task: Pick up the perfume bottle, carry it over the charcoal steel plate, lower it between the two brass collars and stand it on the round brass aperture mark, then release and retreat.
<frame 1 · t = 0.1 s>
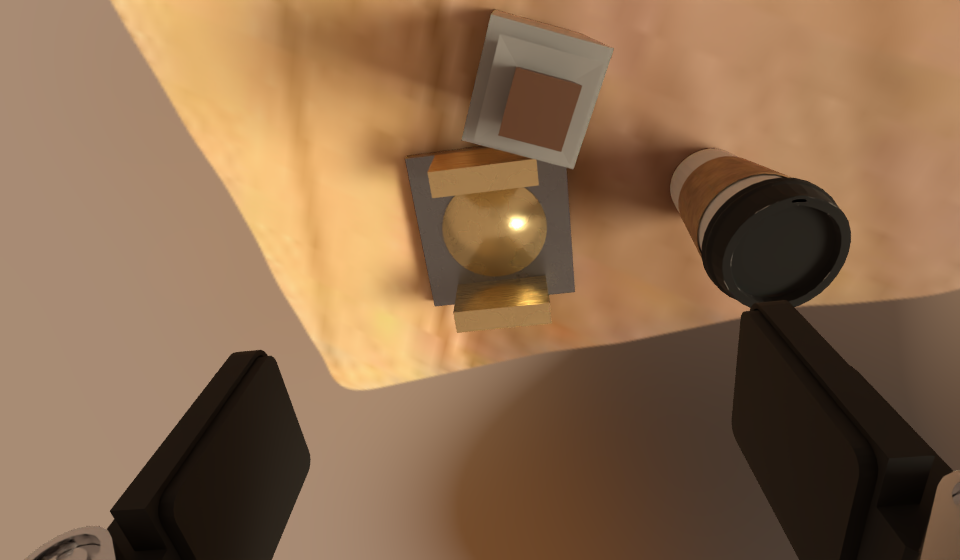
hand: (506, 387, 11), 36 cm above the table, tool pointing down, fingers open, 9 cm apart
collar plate: (494, 224, 48), on the table
coffee cup: (704, 182, 46), on the table
perfume bottle: (525, 68, 43), on the table
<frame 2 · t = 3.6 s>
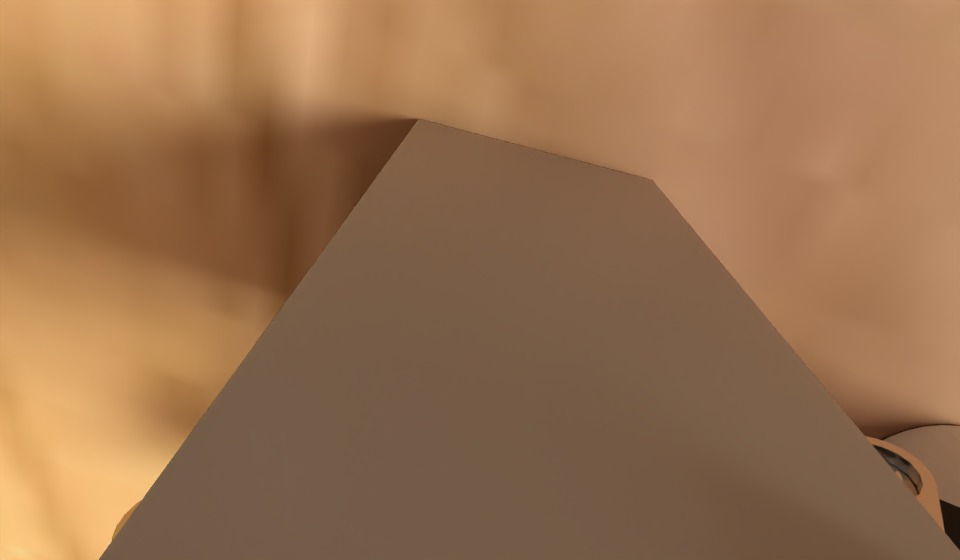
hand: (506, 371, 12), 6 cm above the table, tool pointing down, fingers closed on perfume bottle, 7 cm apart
coffee cup: (913, 481, 20), on the table
perfume bottle: (505, 254, 17), on the table, touching gripper
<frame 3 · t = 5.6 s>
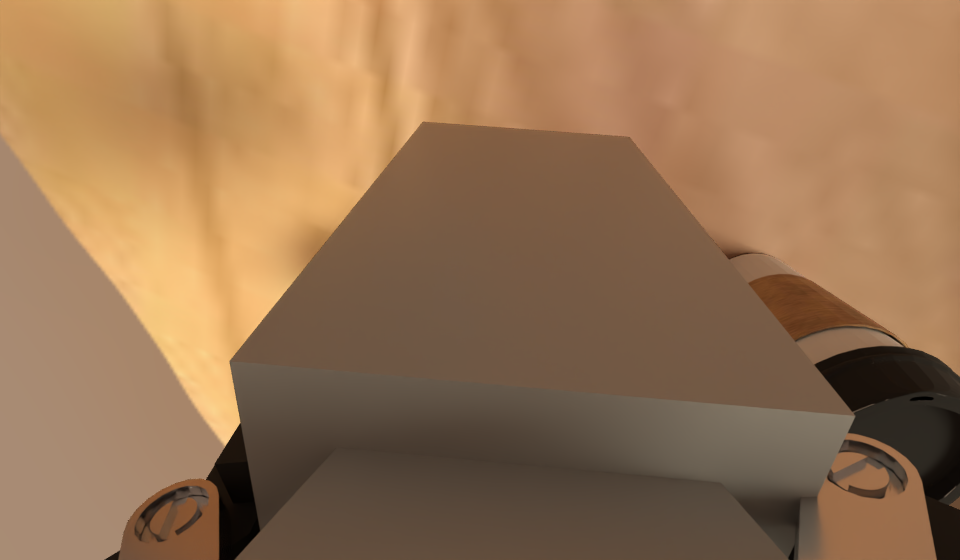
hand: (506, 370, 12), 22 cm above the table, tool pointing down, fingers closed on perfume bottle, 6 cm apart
coffee cup: (744, 293, 35), on the table
perfume bottle: (516, 223, 20), point 13 cm above the table, touching gripper
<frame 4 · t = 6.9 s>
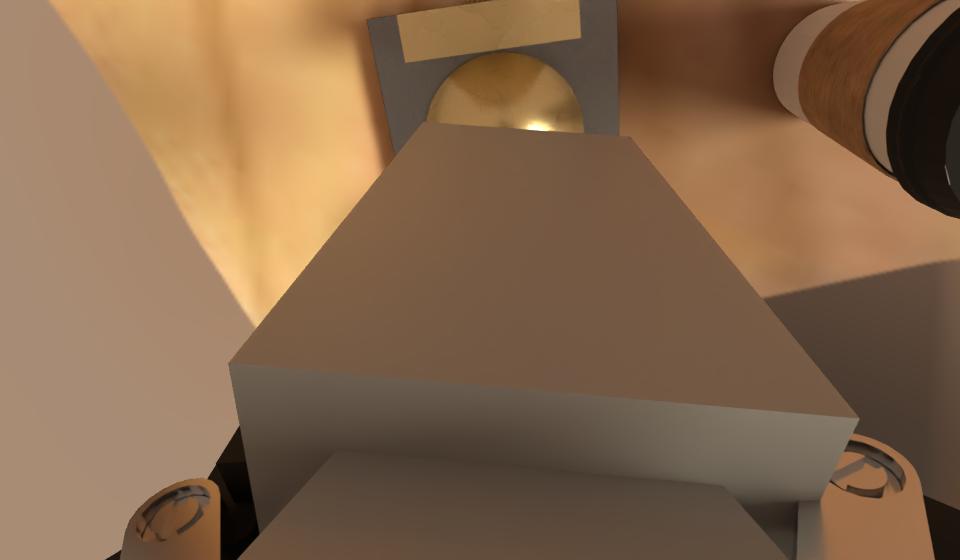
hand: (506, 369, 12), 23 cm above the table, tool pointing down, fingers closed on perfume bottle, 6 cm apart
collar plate: (504, 132, 32), on the table
coffee cup: (826, 63, 30), on the table
perfume bottle: (517, 223, 20), point 14 cm above the table, touching gripper
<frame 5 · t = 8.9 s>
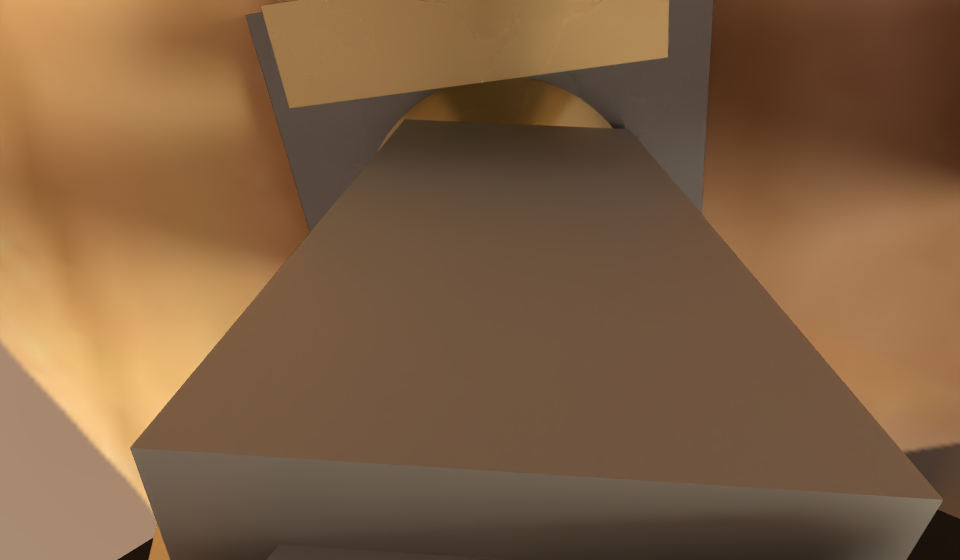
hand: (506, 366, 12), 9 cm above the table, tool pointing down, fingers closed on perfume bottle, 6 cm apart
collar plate: (500, 208, 19), on the table
perfume bottle: (509, 226, 18), point 1 cm above the table, touching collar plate, gripper
when the fingers open (8 cm above the table, at t = 9.2 s): perfume bottle stays where it is, resting on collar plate.
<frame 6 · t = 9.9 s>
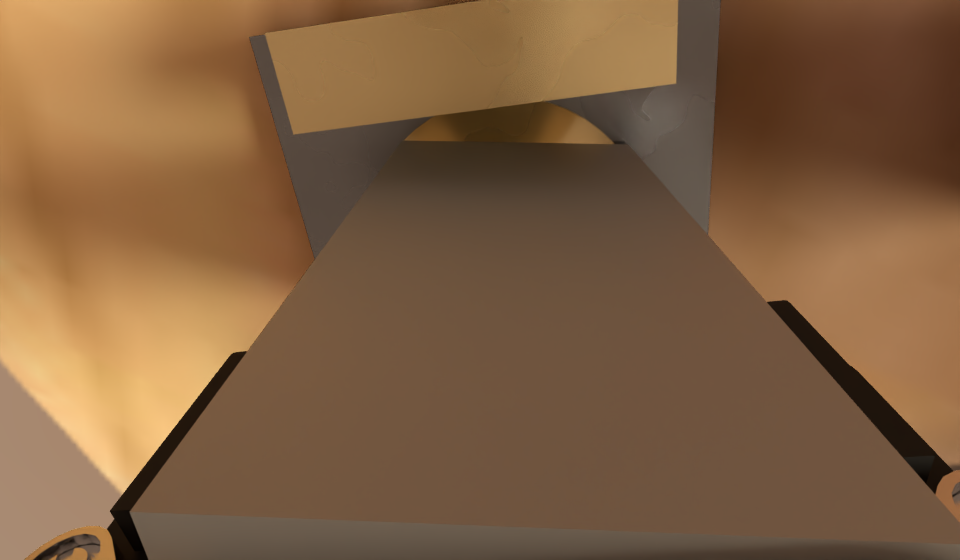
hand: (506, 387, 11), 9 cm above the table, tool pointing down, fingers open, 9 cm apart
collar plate: (505, 227, 19), on the table
perfume bottle: (510, 243, 18), point 1 cm above the table, touching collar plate
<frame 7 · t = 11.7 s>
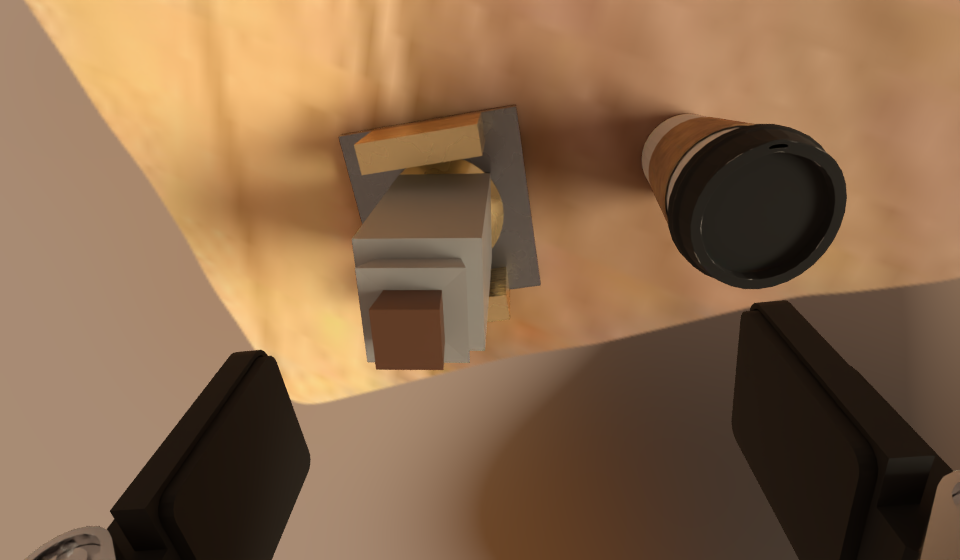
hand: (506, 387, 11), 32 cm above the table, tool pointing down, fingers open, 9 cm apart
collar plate: (446, 210, 43), on the table
coffee cup: (681, 154, 40), on the table
perfume bottle: (447, 216, 42), point 1 cm above the table, touching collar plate
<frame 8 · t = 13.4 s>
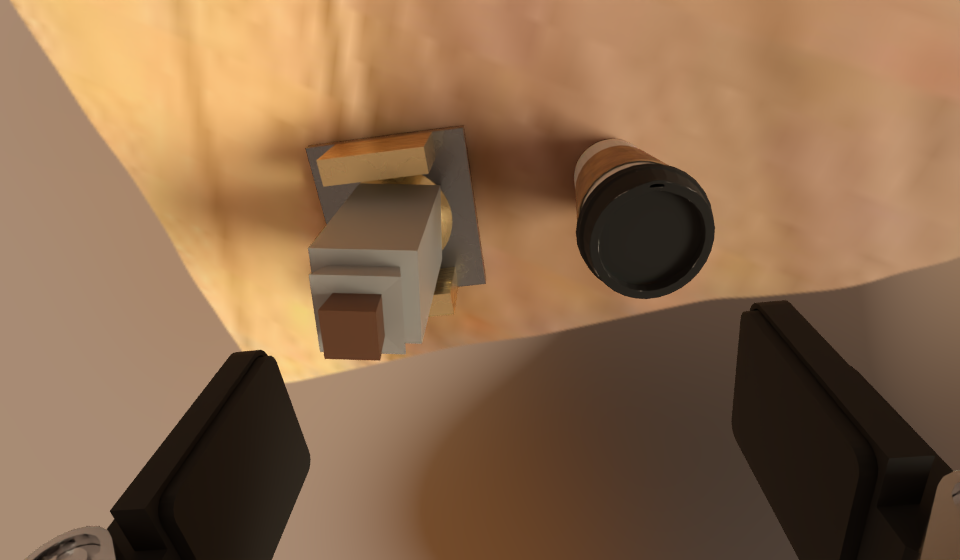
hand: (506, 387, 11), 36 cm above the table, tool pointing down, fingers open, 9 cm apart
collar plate: (402, 215, 48), on the table
coffee cup: (609, 173, 46), on the table
perfume bottle: (402, 221, 47), point 1 cm above the table, touching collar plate
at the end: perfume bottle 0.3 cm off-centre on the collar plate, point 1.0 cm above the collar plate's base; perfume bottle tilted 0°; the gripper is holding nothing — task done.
